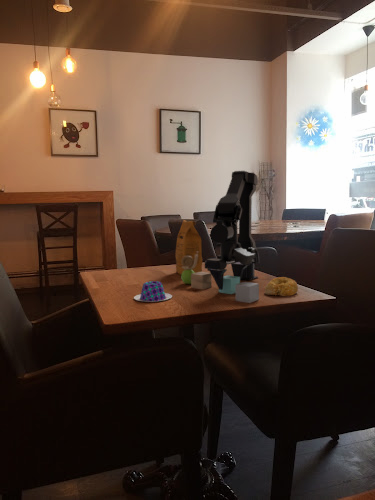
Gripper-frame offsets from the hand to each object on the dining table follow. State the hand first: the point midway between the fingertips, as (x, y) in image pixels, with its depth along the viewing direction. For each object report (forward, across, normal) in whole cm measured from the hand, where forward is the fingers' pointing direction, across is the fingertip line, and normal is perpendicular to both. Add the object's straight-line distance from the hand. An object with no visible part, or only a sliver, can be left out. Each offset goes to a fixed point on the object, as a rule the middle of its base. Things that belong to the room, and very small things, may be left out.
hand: (229, 287), depth 136 cm
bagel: (+2, +8, -14) cm, 17 cm away
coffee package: (+2, +18, +34) cm, 38 cm away
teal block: (+2, 0, 0) cm, 2 cm away
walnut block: (+2, 0, +12) cm, 12 cm away
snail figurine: (+2, +2, +19) cm, 19 cm away
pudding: (+2, -21, +14) cm, 26 cm away
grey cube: (+2, -6, -11) cm, 13 cm away
